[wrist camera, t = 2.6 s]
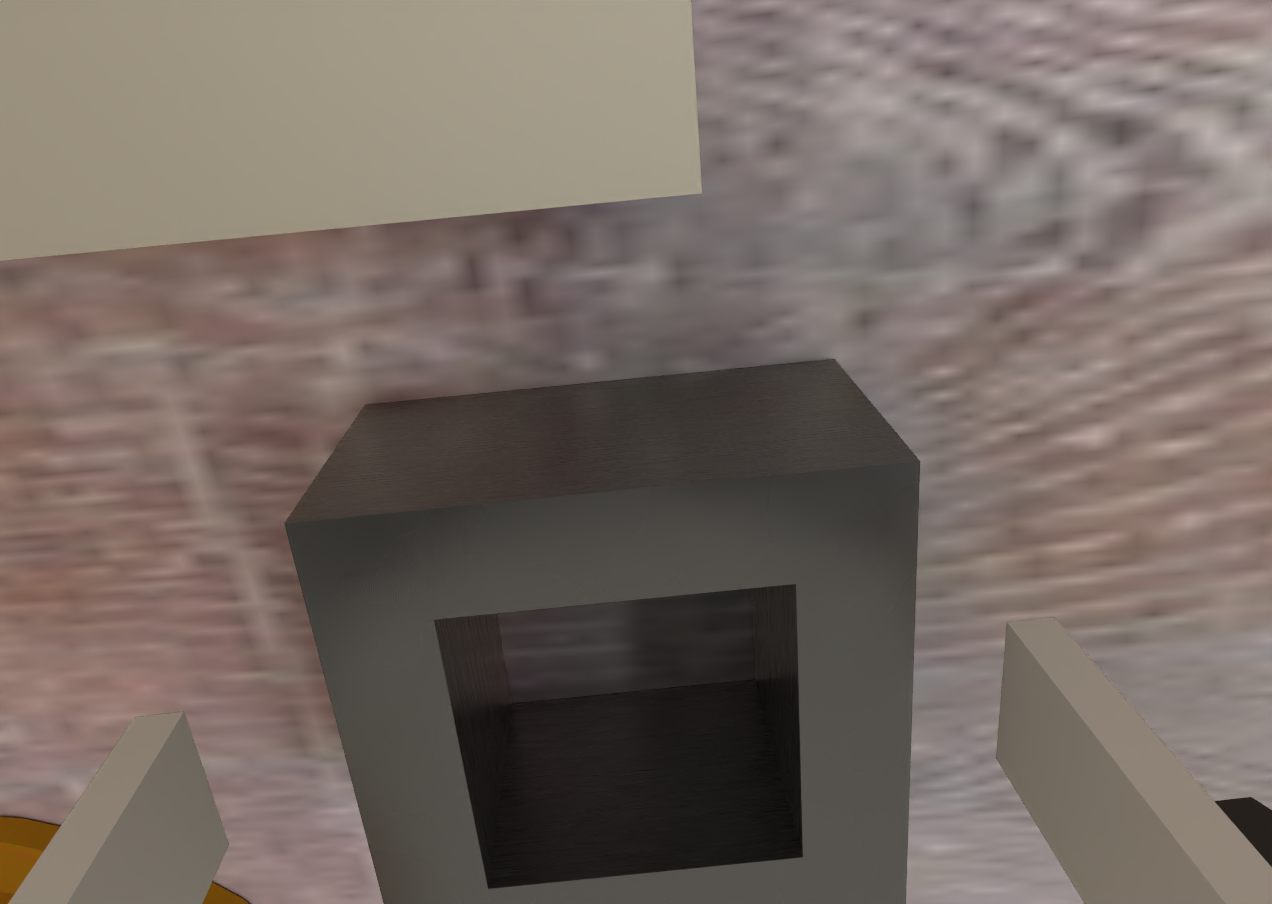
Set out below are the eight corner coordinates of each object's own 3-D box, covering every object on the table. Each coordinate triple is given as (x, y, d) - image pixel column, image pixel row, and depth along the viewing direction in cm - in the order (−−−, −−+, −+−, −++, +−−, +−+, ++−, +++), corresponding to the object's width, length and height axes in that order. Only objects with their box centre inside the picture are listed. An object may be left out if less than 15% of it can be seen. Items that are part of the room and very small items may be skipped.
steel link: (834, 359, 18) (919, 461, 13) (836, 737, 21) (905, 922, 17) (365, 405, 18) (284, 523, 13) (444, 776, 21) (401, 974, 16)
